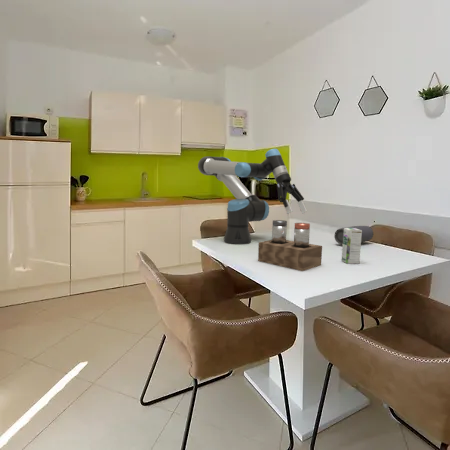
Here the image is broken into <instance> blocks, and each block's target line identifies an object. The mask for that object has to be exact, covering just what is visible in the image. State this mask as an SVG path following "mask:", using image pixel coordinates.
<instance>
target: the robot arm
mask: <svg viewBox="0 0 450 450" xmlns="http://www.w3.org/2000/svg"><path fill="white" fill-rule="evenodd" d="M265 158H266V159H264V160H263V161H262V162H260V163H259V162H258V163H257V162H256V163H255V162H243V161H231V159H229V158H228V157H224V156H210V155H209V156H203V157H202V158H200V160H198V163H197V169H198V171H199V172H200V173H201V174H203V175H204V176H214V177H215V178H216V179H217V181H220V182H222V183H223V184H224V185H225V187H226V188H227V189H228V190H229V191H230V193H231V194H232V195H233V196H234V198H235V199H230V200H229V201H228V202H227V208H226V209H227V210H226V211H227V216H226V218H227V219H226V221H227V223H226V225H227V227H226V231H225V233H224V236H223V242H224V243H226V244H231V245H232V244H233V245H245V244H251V243H252V236H251V233H250V230H249V229H250V228H249V223H252V222H261V221H264V220H266V219H267V218H268V216H269V214H270V205H269V203H268V201H266V200H264V199H263V200H262V199H260V198H259V197H258V196H257V195H256V194H252V193H251V191H249V190H248V188H247V187H246V186H245V185H244V183H242V181H241V180H240V179H239V178H254V180H256V181H259V182H261V181H263V180H265V179H266V178H267V177H268V176H270V174H272V175H273V177H274V179H275V181H276V189H277V198H278V202H279V203H282V204H283V207H284V209H285V211H286V214H288V215H289V214H291V213H292V212H293V209H292V207H291V204H290V202H289V200H288V199H287V194H289V195H291V196H292V197H293V198H294V199H295V200H296V201H297V206H298V207H299V209H300V212H301V214H303V215H304V214H305V213H307V212H308V210H307V208H306V206H305V203H304V200H305V198H304V196H303V195H302V194H301V192H300V190H299V189H298V188H297V187H296V184H295V183H293V184H292V183H291V181H292V178H291V175H290V173H289V171H288V169H287V166H286V164H285V162H284V159H283V157H282V154H281V153H280V151H279V149H277V148H272V149H269V150H267V151H266V153H265ZM238 177H239V178H238Z"/></svg>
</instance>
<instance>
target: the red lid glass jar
mask: <svg viewBox="0 0 450 450" xmlns="http://www.w3.org/2000/svg"><path fill="white" fill-rule="evenodd" d="M293 231H294V233H293V241H294V247H298V248H308V247H309V244H310V231H311V224H310V223H308V222H295V223H294V230H293Z"/></svg>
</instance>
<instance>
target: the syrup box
mask: <svg viewBox="0 0 450 450" xmlns="http://www.w3.org/2000/svg"><path fill="white" fill-rule="evenodd" d="M343 228H344V235H343V244H342V249H341V251H342V252H341V262H343V263H345V264H348V265H349V264H354V265H355V264H360V260H361V259H360V258H361V249H362V248H361V247H362V242H361V236H362V230H359V229H356V228H345V227H343Z"/></svg>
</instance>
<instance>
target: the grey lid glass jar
mask: <svg viewBox="0 0 450 450" xmlns="http://www.w3.org/2000/svg"><path fill="white" fill-rule="evenodd" d="M271 227H272V228H271V229H272V231H271V232H272V233H271V234H272V235H271V240H272V243H276V244H285V243H286V240H287V231H288V230H287V228H288V221H287V220H282V219H274V220H273V219H272V226H271Z"/></svg>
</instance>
